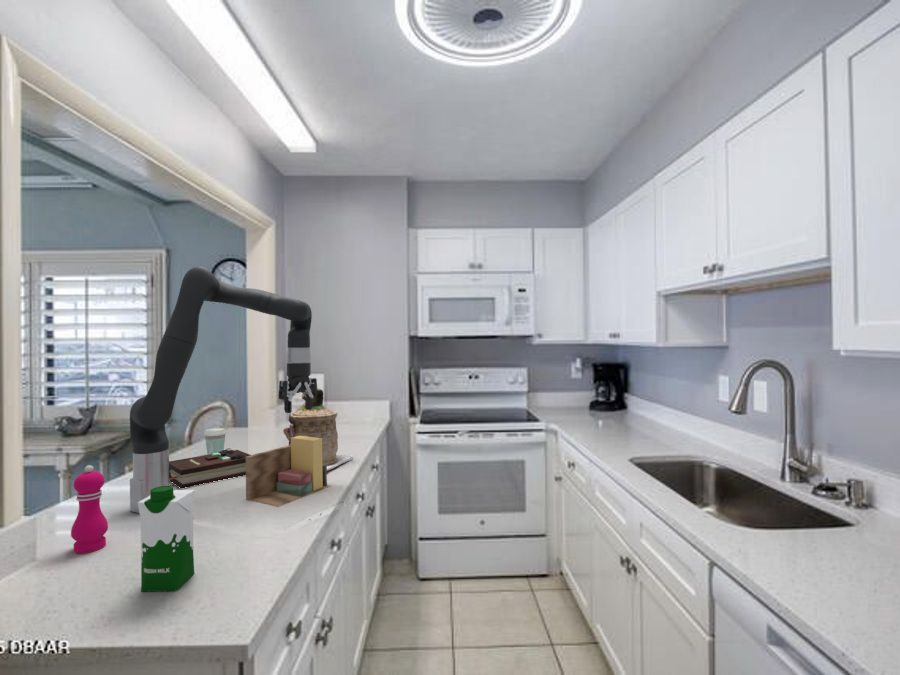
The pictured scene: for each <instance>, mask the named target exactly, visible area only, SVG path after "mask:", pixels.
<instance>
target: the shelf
mask: <svg viewBox="0 0 900 675" xmlns="http://www.w3.org/2000/svg"><path fill="white" fill-rule="evenodd" d="M288 445H289V444H288ZM288 445H286V446H282V447H278V448H273V449H270V450H266V451H263V452H258V453H254V454H250V456H246V476H245V500H246V501H249V502H255V503H260V504H263V505H268V506H273V507H276V508H279V507H282V506H285V505H287V504H289V503H291V502H295V501H297V500H300V499H302V498H305V497H308V496H309V495H313V494H316V493H318V492H320V491H322V490H325V489H327V488H331V485H329V484H328V478H327V477H328V474H327V472H328V471H327V466H323V465H322V473H323V487H322V488H320V489H317V490H314V491H312V482H311V472H305V471H299V470H293V469H291V445H289V446H288Z"/></svg>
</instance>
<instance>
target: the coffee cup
mask: <svg viewBox="0 0 900 675" xmlns="http://www.w3.org/2000/svg"><path fill="white" fill-rule="evenodd" d="M226 434H227V431H226V428H224V427H214V428H208V429H205V431H204V434H203V435H204V438H205V446H206V455H210V454H214V453H218V452H220V451H222V450H225V442H226Z"/></svg>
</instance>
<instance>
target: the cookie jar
mask: <svg viewBox="0 0 900 675" xmlns="http://www.w3.org/2000/svg"><path fill="white" fill-rule="evenodd" d="M313 392H314V389H313ZM305 398H306V397H305V395H304V394H303V393H302V396H301V399H302V400H304V401H305ZM323 403H324V391H323V389H321V388H318V387H317V396H314V397H313V398H312V409H311V410H306V409H305V402H304V403H302V405H301V406H299V407H297V409H296V410H295V411H294V412H293V411H292V412H291V413H288V422H289V423H290V424H289V427H285V428H283V432H282V433H283V434H284V435H285V437H286V439H287V440H288V445H287V446H289V445H291V438H293V437H297V436H307V437H315V438H322V465H323V466H327V472H328V471H330V470H332V469H335V468H336V467H338V466H340V465H343V464H346V463H347V462H349V461H352V460H353V456H354V455H353V454H337V452H338V449H339V448H338V447H339V444H338V438H339V437H338V436H339V435H338V430H337V420H336V419H337V417H338V411H336V410H335V411H334V410H330V409H329V408H326V406H325V407H324V405H323Z"/></svg>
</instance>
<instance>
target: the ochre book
mask: <svg viewBox="0 0 900 675" xmlns="http://www.w3.org/2000/svg"><path fill="white" fill-rule="evenodd" d="M291 469H293V470H299V471H305V472H311V482H312V491H314V490H317V489H320V488H322V487H323V473H322V438H315V437H307V436H297V437H293V438H291Z"/></svg>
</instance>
